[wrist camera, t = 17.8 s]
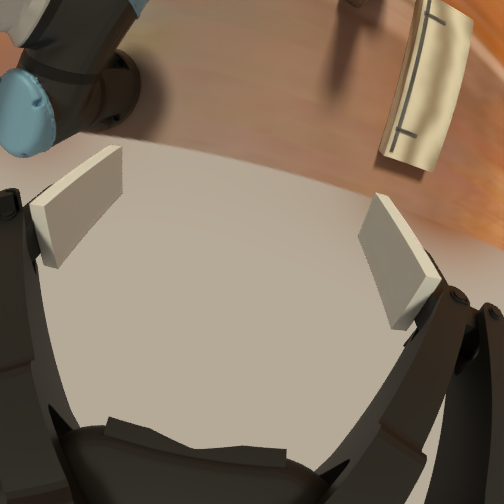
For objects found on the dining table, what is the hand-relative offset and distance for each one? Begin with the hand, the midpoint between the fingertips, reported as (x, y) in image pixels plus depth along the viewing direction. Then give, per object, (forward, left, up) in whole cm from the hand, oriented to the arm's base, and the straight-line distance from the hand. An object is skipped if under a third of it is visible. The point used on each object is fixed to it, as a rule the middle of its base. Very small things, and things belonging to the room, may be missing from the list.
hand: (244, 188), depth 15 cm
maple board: (+25, +12, -34) cm, 44 cm away
